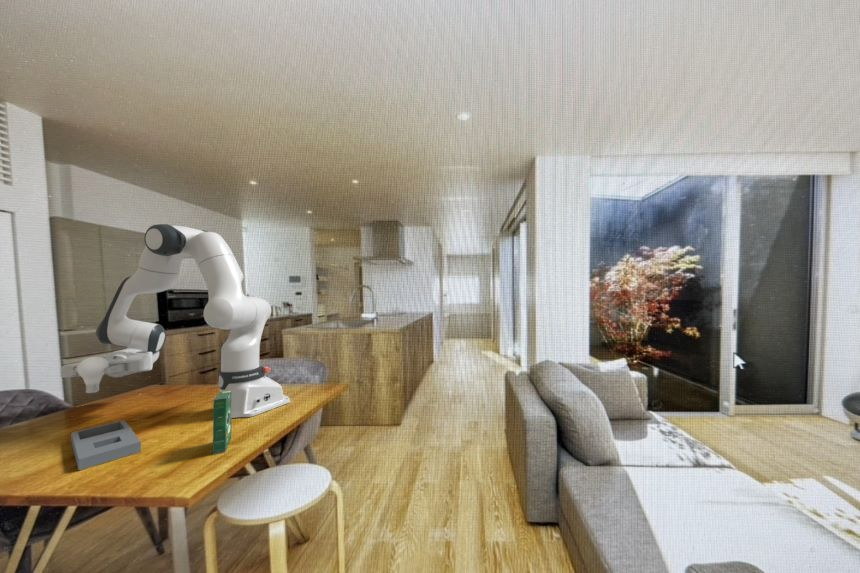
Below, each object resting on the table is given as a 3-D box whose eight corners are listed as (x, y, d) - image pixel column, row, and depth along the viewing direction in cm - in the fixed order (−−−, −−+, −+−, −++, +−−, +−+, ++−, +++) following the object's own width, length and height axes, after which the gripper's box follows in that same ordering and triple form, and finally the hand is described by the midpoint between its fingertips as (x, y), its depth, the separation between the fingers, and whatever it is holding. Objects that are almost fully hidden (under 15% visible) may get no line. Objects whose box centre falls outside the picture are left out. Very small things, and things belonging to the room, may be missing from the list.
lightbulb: (111, 389, 93) (112, 353, 93) (104, 394, 88) (105, 356, 88) (81, 393, 89) (82, 356, 90) (71, 398, 84) (73, 359, 85)
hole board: (124, 428, 88) (124, 419, 88) (140, 451, 74) (141, 441, 74) (71, 441, 80) (71, 432, 80) (78, 471, 66) (78, 459, 66)
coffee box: (219, 440, 79) (219, 390, 79) (232, 438, 80) (232, 389, 80) (211, 455, 71) (212, 399, 72) (225, 452, 72) (226, 397, 73)
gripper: (81, 356, 98) (42, 365, 85) (158, 351, 104) (133, 358, 91) (80, 375, 98) (42, 387, 84) (157, 369, 104) (133, 378, 91)
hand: (90, 372), depth 88 cm, fingers closed on lightbulb, 6 cm apart
